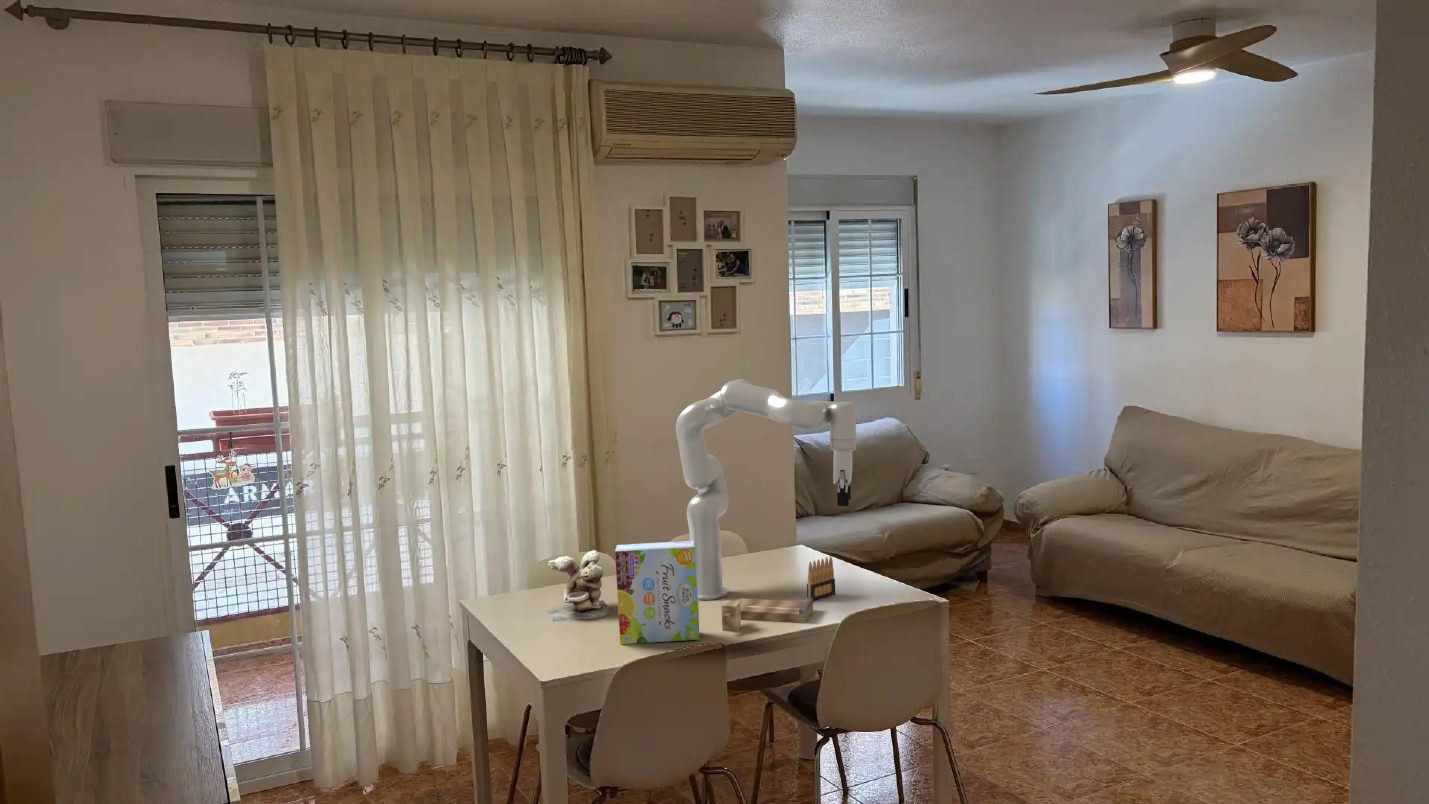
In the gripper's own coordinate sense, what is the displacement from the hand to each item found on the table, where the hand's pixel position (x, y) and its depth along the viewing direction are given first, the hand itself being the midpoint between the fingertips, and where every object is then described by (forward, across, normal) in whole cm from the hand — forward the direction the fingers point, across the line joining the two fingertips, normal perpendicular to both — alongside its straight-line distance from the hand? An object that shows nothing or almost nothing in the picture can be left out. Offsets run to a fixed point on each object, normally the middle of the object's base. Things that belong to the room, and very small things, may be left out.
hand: (844, 502), depth 312 cm
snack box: (+31, +36, -48) cm, 67 cm away
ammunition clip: (+31, -6, -8) cm, 32 cm away
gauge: (+30, +25, -30) cm, 50 cm away
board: (+30, +12, -20) cm, 39 cm away
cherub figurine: (+31, +14, -78) cm, 85 cm away
